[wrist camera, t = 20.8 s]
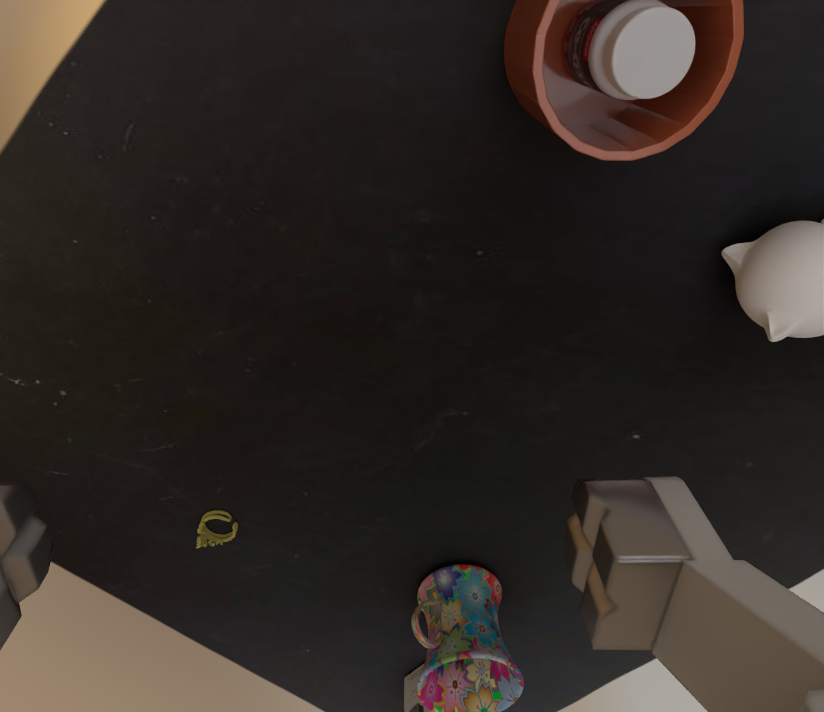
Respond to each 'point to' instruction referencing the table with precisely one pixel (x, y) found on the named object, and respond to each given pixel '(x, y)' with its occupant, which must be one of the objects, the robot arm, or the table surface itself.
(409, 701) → the ink box
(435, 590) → the mug
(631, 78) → the pill bottle
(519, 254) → the table surface
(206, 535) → the ring
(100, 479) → the table surface
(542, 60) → the cup
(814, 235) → the cat figurine
